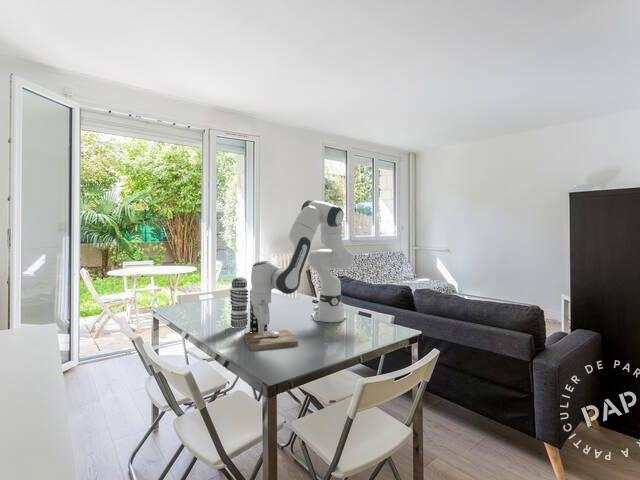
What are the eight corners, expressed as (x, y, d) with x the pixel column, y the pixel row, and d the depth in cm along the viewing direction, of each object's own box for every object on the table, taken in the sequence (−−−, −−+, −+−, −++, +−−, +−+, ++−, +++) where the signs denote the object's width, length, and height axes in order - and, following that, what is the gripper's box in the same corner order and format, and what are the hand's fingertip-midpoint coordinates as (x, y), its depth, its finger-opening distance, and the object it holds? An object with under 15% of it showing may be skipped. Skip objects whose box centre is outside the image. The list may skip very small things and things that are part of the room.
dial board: (244, 337, 160) (244, 332, 160) (286, 333, 167) (286, 329, 167) (250, 350, 143) (250, 345, 143) (297, 345, 149) (297, 340, 149)
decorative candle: (230, 330, 173) (230, 279, 172) (229, 325, 182) (229, 277, 181) (248, 328, 175) (249, 278, 175) (247, 324, 184) (247, 276, 184)
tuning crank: (278, 333, 159) (278, 320, 159) (280, 336, 155) (280, 322, 155) (256, 335, 156) (256, 321, 155) (258, 338, 151) (258, 324, 151)
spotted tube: (270, 330, 173) (270, 289, 173) (262, 334, 165) (262, 292, 165) (255, 328, 176) (255, 288, 176) (246, 332, 168) (246, 291, 168)
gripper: (273, 302, 145) (273, 335, 145) (263, 294, 164) (263, 323, 164) (258, 303, 143) (257, 337, 143) (250, 294, 162) (250, 324, 162)
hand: (261, 329), depth 154 cm, fingers closed on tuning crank, 2 cm apart
